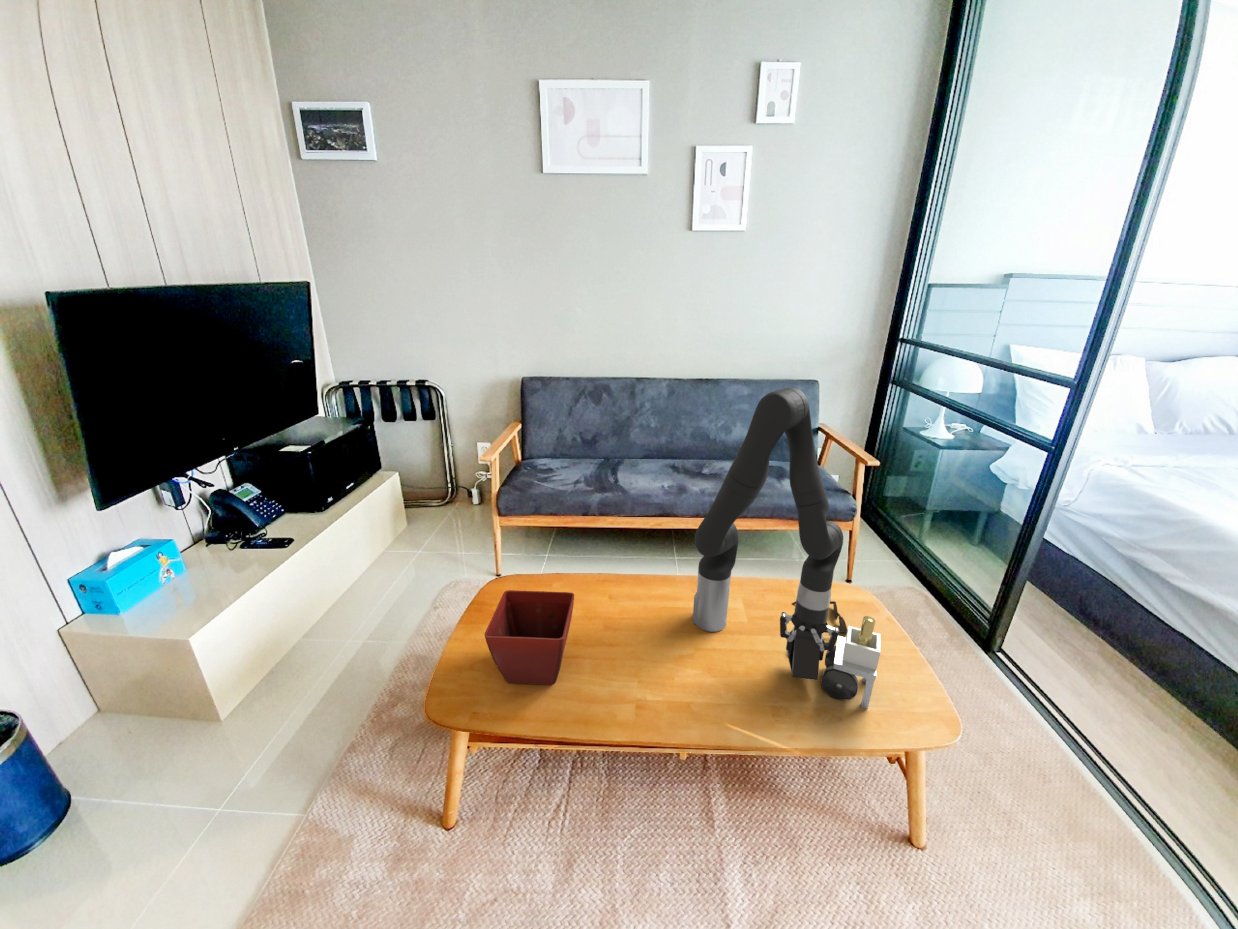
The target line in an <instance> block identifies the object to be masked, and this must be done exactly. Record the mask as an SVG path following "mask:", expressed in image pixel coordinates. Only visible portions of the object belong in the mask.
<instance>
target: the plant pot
mask: <svg viewBox="0 0 1238 929" xmlns="http://www.w3.org/2000/svg"><path fill="white" fill-rule="evenodd" d="M574 604H575V594H574V593H573V592H569V591H546V590H545V591H544V590H542V591H541V590H539V591H538V590H514V589H513V590H512V589H511V590H508V589H507V590H505V591H504V592H503V593H502V595H501V598H500V600H499V602H498V604H497V607H496V609H495V611H494V612H493V616H492V617H491V619H490V621H489V623H488V625H487V628H486V629H485V632H484V638H485V642H486V645H487V648H488V651H489V653H490V655H491V658H492V660H493V662H494V664H495V666H496V668H497V669H498V671H499V673H500V674H501V676H502V678H503V679H504V680H505V681H506V682H507V683H509V684H510V683H511V684H532V685H550V686H551V685H554V684H555V683H556V682H557V680H558V678H559V674H560V670H561V666H562V663H563V662H562V661H563V657H564V653H565V652H564V651H565V647H566V644H567V641H568V636H569V633H570V632H569V631H570V626H571V622H572V616H573V609H574Z"/></svg>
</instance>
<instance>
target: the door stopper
mask: <svg viewBox="0 0 1238 929" xmlns="http://www.w3.org/2000/svg"><path fill="white" fill-rule="evenodd" d="M793 628H794V631H795V630H796V636H795V637H794V640H793V646H792V652H791V654H790V653H788V651H787V658H788V663H789V668H790V671H791V677H792V678H795V679H804V680H813V681H818V680H819V669H820V668H819V667H820V660H819V656H820V646H819V645H818V644H816V641H815V639H814V636H813V634H812V632H811V631H810V630H808V629H804V630H803V631H801V630H800V629H798V628H795V626H794V625H793ZM822 634H823V633H822ZM822 634H821V635H819V637H820V639H821V637H822Z"/></svg>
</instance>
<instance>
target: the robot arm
mask: <svg viewBox="0 0 1238 929" xmlns="http://www.w3.org/2000/svg"><path fill="white" fill-rule="evenodd" d="M813 433H814V432H813V426H812V419H811V410H810V404H809V400H808V397H807V396H806V394H805V393H804V392H803V391H801V390H800V389H798V388H795V387H789V386H788V387H784V388H783V387H782V388H780V389H777V390H774V391H770V392H769V393H766V394H765V395H764V396H763V397H761V398H760V400H759V401H758V403H757V405H756V408H755V410H754V412H753V416H752V418H751V421H750V424H749V427H748V430H747V432H746V436H745V438H744V440H743V442H742V444H741V446H740V447H739V449H738V451H737V453H736V456H735V458H734V459H733V462H732V463H731V466H730V467H729V469H728V470H727V473H726V476H725V477H724V480H723V482H722V484H721V486H720V489H719V490H718V492H717V494H716V497H715V499H714V501H713V503H712V505H711V506H710V508H709V510H708V512H707V513H706V515H705V517H703V518H704V519H702V521H701V523H700V524H699V526H698V527H697V528H696V531H695V536H694V544H695V548H696V549H697V551H698V553H699V554H700V555H702V557H701V558H700V560H699V563H698V567H697V568H698V569H697V571H698V572H697V580H696V581H697V583H696V584H697V585H696V592H695V594H694V595H693V596H694V597H693V610H692V611H693V612H692V622H691V623H692V624H693V625H696V626H697V627H698V628H699V629H700V630H702V631H706V632H710V633H717V632H721V631H722V630H724V629H725V628H726V626H727V618H728V610H729V607H728V606H729V599H730V598H729V596H730V587H731V579H732V578H731V577H732V570H733V569H734V568H735V567H734V566H735V564H736V560H737V554H738V548H739V532H738V529H737V526H736V524H735V521H737V520H738V518H740V517H741V515H742V514H744V513H745V512H746V511H747V510H748V508H750V506H751V505H752V504H753V503H754V501H755V500H756V499H757V497H758V496H759V494H760V492H761V491H762V490H763V487H764V485H765V483H766V482H767V479H768V476H769V470H770V458H771V454H772V452H773V450H774V449H775V447H776V445H777V443H779V442H778V441H779V440H780V439H781V438H782V437H783V435H784V434H785V436H786V439H787V443H788V451H789V472H788V473H789V477H788V478H789V485H790V490H791V494H792V496H793V500H794V504H795V507H796V509H797V517H798V518H797V519H798V520H797V522H798V533H799V539H800V540H799V541H800V544H801V546H802V548H803V550H804V552H805V553H806V554H807V555H808V556H807V558H805V560H804V562H803V564H802V567H801V573H800V580H799V583H798V587H797V592H796V600H795V602H796V604H794V606H795V607H794V612H793V613H792V615H791V614H787V613H786V612H784V611H782V612H781V614H780V618H779V636H780V638H785V639H786V647H785V649H786V651H787V652H788V653H790V654H791V652H792V646H793V640H794V637H795V636H796V630H795V631H794V626H795V628H798V629H800V630H801V631H803V630H804V629H808V630H810V631H811V632H812V634H813V636H814V639H815V641H816V644H818V645H819V646H820V656H819V662H822V661H823V659H824V653H825V651H827V650H828V651H830V652H831V651H833V648H834V646H836V644H837V638H838V636H839V631H840V626H839V627H838V626H837V625H836V626H831V625H829V624H828V622H827V621H828V615H829V609H830V605H831V604H830V601H831V598H832V584H833V579H834V574H835V573H834V570H835V568H836V565H837V563H838V561H839V558H840V555H841V552H842V548H843V545H844V533H843V530H842V528H841V527H840V526H839V525H838V524H837V523H836V522H834V521H832V520H827V513H828V512H829V508H830V504H829V500H828V496H827V492H826V490H825V486H824V483H823V480H822V476H821V472H820V469H819V468H820V467H819V465H818V464H819V463H818V459H817V455H816V454H817V453H816V448H815V447H816V446H815V440H814V434H813ZM789 622H791V623H792V625H793V627H792V628H791V630H790V631H788V627H787V626H788V624H789ZM825 631H828V632H829V633H828V636H829V640H828V642H827V641H825V639H824V636H823V635H824V632H825ZM821 634H822V637H821V639H820V637H819V635H821Z"/></svg>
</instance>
